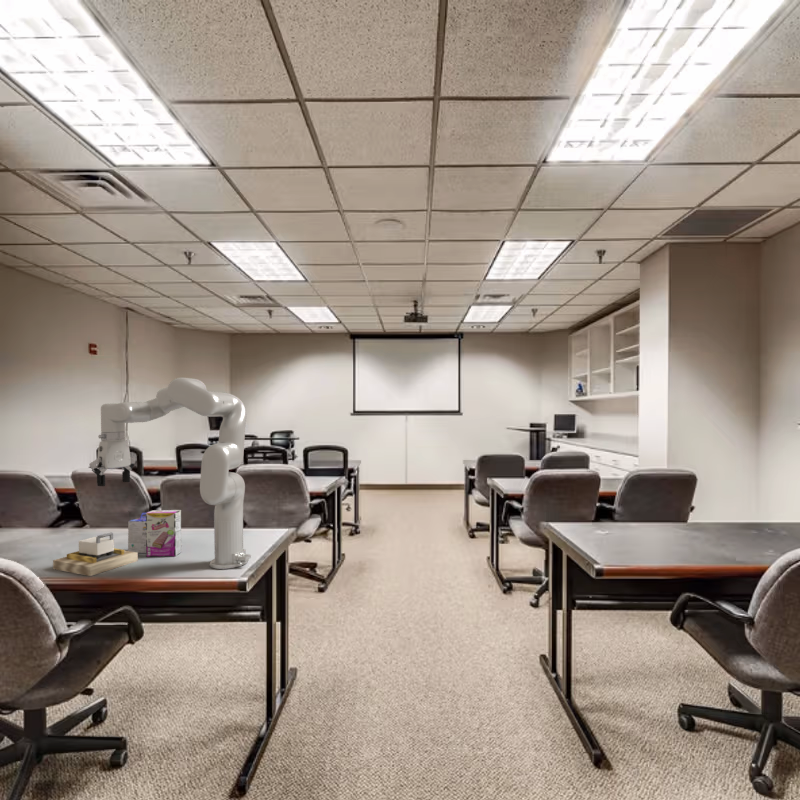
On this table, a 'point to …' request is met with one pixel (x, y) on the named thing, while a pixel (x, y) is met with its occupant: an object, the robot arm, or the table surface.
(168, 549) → the candy bar box
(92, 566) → the dock
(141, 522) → the ink cartridge box
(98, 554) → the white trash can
